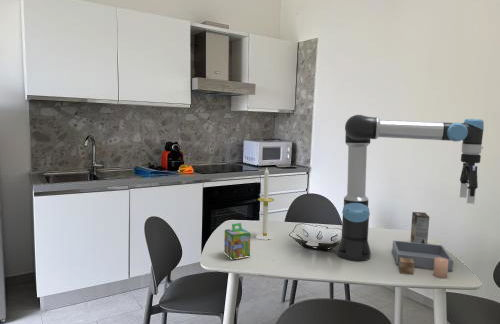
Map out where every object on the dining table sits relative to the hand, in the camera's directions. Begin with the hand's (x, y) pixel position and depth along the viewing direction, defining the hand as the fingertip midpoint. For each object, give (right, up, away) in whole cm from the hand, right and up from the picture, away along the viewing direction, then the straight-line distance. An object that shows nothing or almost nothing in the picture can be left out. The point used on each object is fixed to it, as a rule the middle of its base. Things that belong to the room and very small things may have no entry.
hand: (466, 200), depth 168 cm
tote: (-22, -27, -1) cm, 35 cm away
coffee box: (-13, -25, +20) cm, 35 cm away
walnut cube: (-33, -28, -14) cm, 46 cm away
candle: (-91, -22, +27) cm, 97 cm away
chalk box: (-104, -25, 0) cm, 107 cm away
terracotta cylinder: (-21, -29, -17) cm, 40 cm away
